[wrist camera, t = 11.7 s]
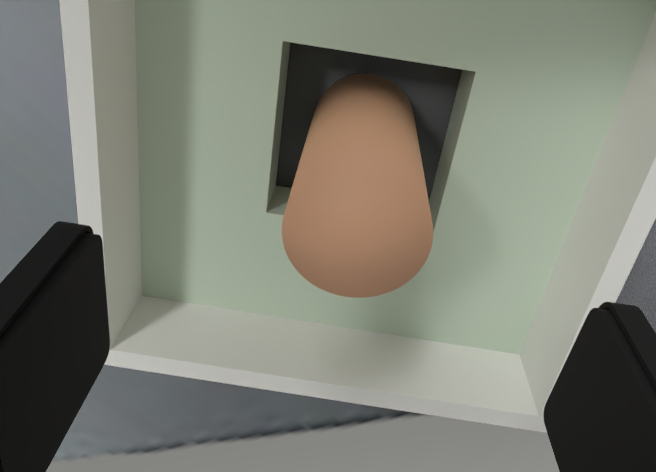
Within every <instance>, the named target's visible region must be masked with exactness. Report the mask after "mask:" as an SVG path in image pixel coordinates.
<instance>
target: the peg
mask: <svg viewBox="0 0 656 472" xmlns="http://www.w3.org/2000/svg"><path fill="white" fill-rule="evenodd" d="M282 240H283V245H284V249H285V251H286V254H287V256H288V258H289V260H290V262H291V263H292V265H293V266H294V267H295V269H296V270H297V271H298V272H299V273H300V274H301V275H302V276H303V277H304V278H305V279H306V280H307V281H309V282H310V283H311V284H313V285H315V286H316V287H318V288H320V289H322V290H324V291H326V292H329V293H332V294H335V295H339V296H344V297H353V298H365V297H373V296H378V295H382V294H385V293H388V292H391V291H393V290H395V289H397V288H399V287H401V286H402V285H404V284H405V283H407V282H408V281H409V280H411V279H412V278H413V277H414V276H415V275H416V274H417V273H418V272H419V271H420V269H421V268H422V266H423V265H424V264H425V262H426V260H427V258H428V256H429V253H430V250H431V247H432V242H433V224H432V217H431V211H430V206H429V200H428V194H427V188H426V182H425V177H424V171H423V165H422V159H421V153H420V148H419V142H418V136H417V130H416V124H415V119H414V113H413V109H412V106H411V103H410V101H409V99H408V97H407V96H406V94H405V93H404V92H403V90H402V89H401V88H400V87H399V86H398V85H396V84H395V83H394V82H392V81H391V80H389V79H387V78H385V77H382V76H379V75H375V74H369V73H358V74H353V75H349V76H346V77H343V78H341V79H339V80H338V81H336V82H334V83H333V84H332V85H331V86H329V87H328V88H327V89H326V90H325V92H324V93H323V94H322V96H321V97H320V99H319V101H318V103H317V105H316V108H315V111H314V115H313V118H312V121H311V125H310V128H309V132H308V135H307V138H306V142H305V145H304V148H303V152H302V155H301V159H300V162H299V165H298V169H297V172H296V175H295V179H294V182H293V186H292V189H291V192H290V196H289V199H288V203H287V206H286V209H285V213H284V216H283V222H282Z"/></svg>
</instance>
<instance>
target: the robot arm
mask: <svg viewBox="0 0 656 472" xmlns="http://www.w3.org/2000/svg"><path fill="white" fill-rule="evenodd" d="M109 349H110V334H109V321H108V308H107V295H106V282H105V269H104V257H103V244H102V238H101V236H100V235H97V234H94V233H93V230H92V228H91V227H90V226H88V225H82V224H75V223H68V222H61V221H60V222H56V223H55V224H54V225H53V226H52V227H51V228H50V229H49V230H48V231H47V233H46V234H45V235H44V236H43V237H42V238H41V239H40V240H39V241H38V242H37V244H36V245H35V246H34V247H33V248H32V249H31V250H30V251H29V252H28V253H27V255H26V256H25V257H24V258H23V259H22V260H21V261H20V262H19V263H18V264H17V266H16V267H15V268H14V269H13V270H12V271H11V272H10V273H9V274H8V275H7V277H6V278H5V279H4V280H3V281H2V282H1V283H0V472H46V470H47V468H48V466H49V465H50V463H51V461H52V459H53V457H54V455H55V454H56V452H57V450H58V448H59V446H60V444H61V443H62V441H63V439H64V437H65V435H66V433H67V432H68V430H69V428H70V426H71V424H72V422H73V421H74V419H75V417H76V415H77V413H78V411H79V410H80V408H81V406H82V404H83V402H84V400H85V399H86V397H87V395H88V393H89V391H90V389H91V387H92V386H93V384H94V382H95V380H96V378H97V376H98V375H99V373H100V371H101V369H102V367H103V365H104V364H105V362H106V359H107V357H108V354H109ZM544 423H545V427H546V430H547V433H548V436H549V439H550V442H551V446H552V449H553V452H554V455H555V458H556V461H557V464H558V467H559V470H560V472H656V333H655V332H654V330H653V328H652V327H651V325H650V324H649V322H648V321H647V319H646V317H645V316H644V314H643V313H642V311H641V310H640V309H639V308H638V307H636V306H632V305H625V304H619V303H612V302H604V303H602V304H601V305H600V306H599V308H593V309H591V310H590V312H589V313H588V315H587V317H586V320H585V322H584V324H583V326H582V328H581V330H580V332H579V334H578V336H577V339H576V341H575V343H574V345H573V347H572V349H571V351H570V353H569V355H568V358H567V360H566V362H565V364H564V366H563V368H562V370H561V372H560V374H559V377H558V379H557V381H556V383H555V385H554V387H553V389H552V391H551V393H550V396H549V398H548V400H547V402H546V404H545V407H544Z"/></svg>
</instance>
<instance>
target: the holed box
mask: <svg viewBox="0 0 656 472" xmlns="http://www.w3.org/2000/svg"><path fill="white" fill-rule="evenodd" d="M59 2H60V14H61V26H62V37H63V49H64V61H65V72H66V84H67V96H68V107H69V119H70V131H71V142H72V154H73V166H74V177H75V189H76V201H77V212H78V224H82V225H88V226H90V227H91V228H92V230H93V233H94V234H97V235H100V236H101V238H102V244H103V257H104V269H105V282H106V295H107V308H108V321H109V334H110V349H109V354H108V357H107V359H106V362H105V364H104V365H110V366H117V367H123V368H130V369H136V370H142V371H149V372H155V373H162V374H168V375H175V376H181V377H188V378H194V379H201V380H207V381H213V382H220V383H226V384H233V385H239V386H246V387H252V388H259V389H265V390H272V391H278V392H284V393H291V394H297V395H304V396H310V397H317V398H323V399H330V400H336V401H343V402H349V403H355V404H362V405H368V406H375V407H381V408H388V409H394V410H401V411H407V412H414V413H420V414H426V415H433V416H439V417H446V418H452V419H459V420H465V421H472V422H478V423H485V424H491V425H497V426H504V427H510V428H517V429H523V430H530V431H536V432H543V433H547V430H546V427H545V423H544V407H545V404H546V402H547V400H548V398H549V396H550V393H551V391H552V389H553V387H554V385H555V383H556V381H557V379H558V377H559V374H560V372H561V370H562V368H563V366H564V364H565V362H566V360H567V358H568V355H569V353H570V351H571V349H572V347H573V345H574V343H575V341H576V339H577V336H578V334H579V332H580V330H581V328H582V326H583V324H584V322H585V320H586V317H587V315H588V313H589V312H590V310H591V309H593V308H599V306H600V305H601V304H602V303H604V302H612V303H615V302H616V300H617V298H618V296H619V294H620V292H621V290H622V288H623V286H624V284H625V281H626V279H627V277H628V275H629V273H630V271H631V269H632V267H633V265H634V263H635V261H636V258H637V256H638V254H639V252H640V250H641V248H642V246H643V244H644V242H645V240H646V237H647V235H648V233H649V231H650V229H651V227H652V225H653V223H654V221H655V219H656V0H59ZM291 42H292V43H298V44H304V45H311V46H317V47H323V48H329V49H336V50H342V51H348V52H355V53H361V54H367V55H374V56H380V57H386V58H392V59H399V60H405V61H411V62H418V63H424V64H430V65H437V66H443V67H449V68H455V69H462V73H461V77H460V80H459V84H458V88H457V92H456V96H455V100H454V104H453V108H452V112H451V116H450V120H449V124H448V128H447V132H446V136H445V140H444V144H443V148H442V152H441V156H440V160H439V164H438V168H437V172H436V176H435V180H434V184H433V188H432V192H431V196H430V200H429V206H430V211H431V217H432V224H433V242H432V247H431V250H430V253H429V256H428V258H427V260H426V262H425V264H424V265H423V266H422V268H421V269H420V271H419V272H418V273H417V274H416V275H415V276H414V277H413V278H412V279H411V280H409V281H408V282H407V283H405V284H404V285H402V286H401V287H399V288H397V289H395V290H393V291H391V292H388V293H385V294H382V295H378V296H373V297H365V298H353V297H344V296H339V295H335V294H332V293H329V292H326V291H324V290H322V289H320V288H318V287H316V286H315V285H313V284H311V283H310V282H309V281H307V280H306V279H305V278H304V277H303V276H302V275H301V274H300V273H299V272H298V271H297V270H296V269H295V267H294V266H293V265H292V263H291V262H290V260H289V258H288V256H287V254H286V251H285V249H284V245H283V240H282V222H283V216H284V213H285V209H286V206H287V203H288V199H289V196H290V192H291V189H292V188H289V187H282V186H276V178H277V168H278V159H279V149H280V139H281V130H282V120H283V110H284V101H285V91H286V81H287V72H288V62H289V52H290V43H291Z"/></svg>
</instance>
